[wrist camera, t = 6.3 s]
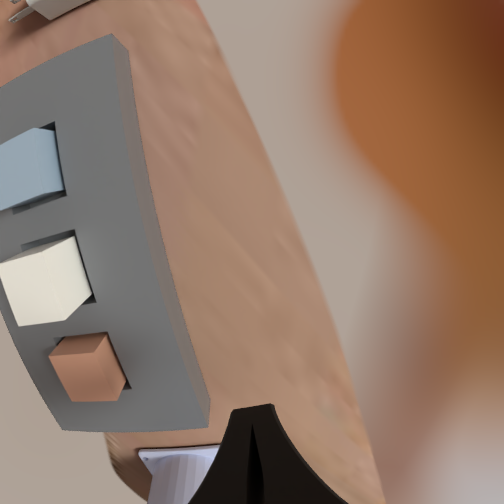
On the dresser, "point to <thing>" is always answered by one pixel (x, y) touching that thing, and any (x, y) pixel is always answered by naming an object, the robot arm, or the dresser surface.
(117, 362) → the terracotta key
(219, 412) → the dresser surface
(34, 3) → the usb wall charger
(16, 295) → the white key
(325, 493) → the robot arm
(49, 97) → the key panel
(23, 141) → the blue key
